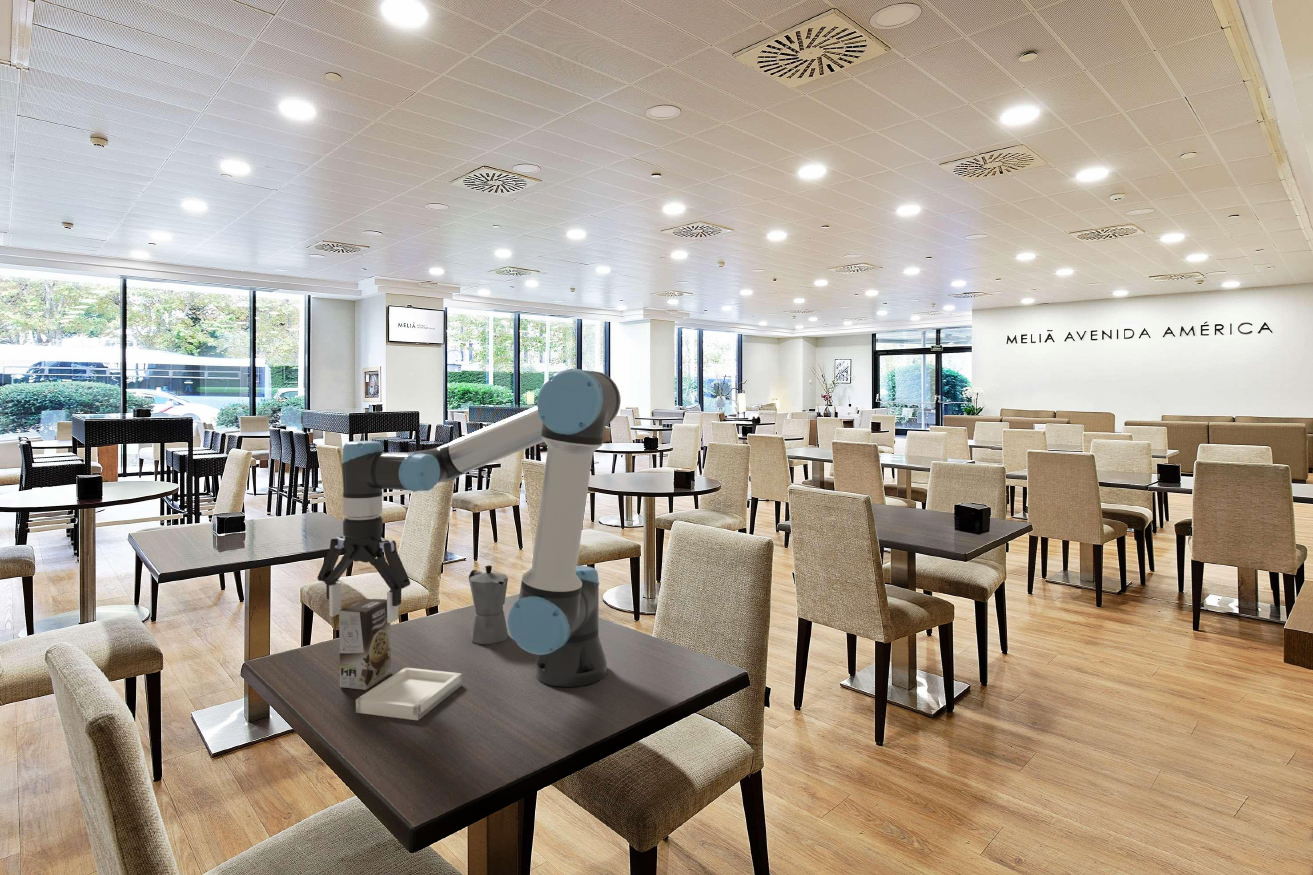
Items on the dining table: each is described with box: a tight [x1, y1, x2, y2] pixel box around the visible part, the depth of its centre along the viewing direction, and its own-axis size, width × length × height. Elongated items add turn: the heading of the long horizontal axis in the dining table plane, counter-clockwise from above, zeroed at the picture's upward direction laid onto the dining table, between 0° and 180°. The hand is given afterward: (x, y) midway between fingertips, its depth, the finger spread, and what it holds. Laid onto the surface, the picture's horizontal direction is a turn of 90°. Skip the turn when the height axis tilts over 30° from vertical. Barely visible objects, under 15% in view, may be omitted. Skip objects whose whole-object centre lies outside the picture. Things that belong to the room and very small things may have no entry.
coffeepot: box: [468, 565, 509, 645], centre depth 173 cm, size 15×9×18 cm, turn 44°
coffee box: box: [338, 598, 392, 691], centre depth 146 cm, size 9×6×16 cm
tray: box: [355, 666, 463, 721], centre depth 138 cm, size 13×16×2 cm
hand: (363, 617), depth 146 cm, fingers open, 13 cm apart
